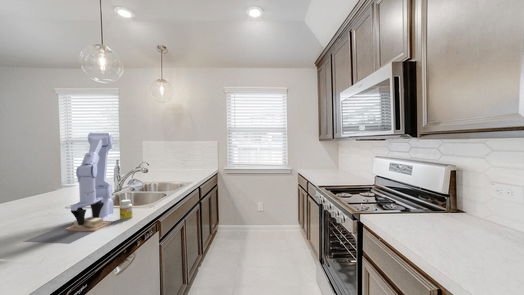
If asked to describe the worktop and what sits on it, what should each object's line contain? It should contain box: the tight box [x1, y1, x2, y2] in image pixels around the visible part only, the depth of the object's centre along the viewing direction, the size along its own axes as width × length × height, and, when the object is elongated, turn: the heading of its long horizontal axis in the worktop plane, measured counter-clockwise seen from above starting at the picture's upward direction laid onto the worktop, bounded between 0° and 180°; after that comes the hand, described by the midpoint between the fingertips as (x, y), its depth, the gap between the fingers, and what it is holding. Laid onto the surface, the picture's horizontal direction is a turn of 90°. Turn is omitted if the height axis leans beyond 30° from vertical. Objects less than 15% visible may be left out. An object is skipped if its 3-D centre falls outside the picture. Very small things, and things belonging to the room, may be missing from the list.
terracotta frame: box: [66, 222, 112, 232], centre depth 103 cm, size 9×14×1 cm, turn 83°
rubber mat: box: [22, 220, 117, 245], centre depth 99 cm, size 24×20×1 cm
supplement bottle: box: [119, 199, 134, 221], centre depth 114 cm, size 5×5×10 cm
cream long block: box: [74, 216, 104, 229], centre depth 103 cm, size 10×4×4 cm, turn 83°
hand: (88, 221), depth 103 cm, fingers open, 7 cm apart
